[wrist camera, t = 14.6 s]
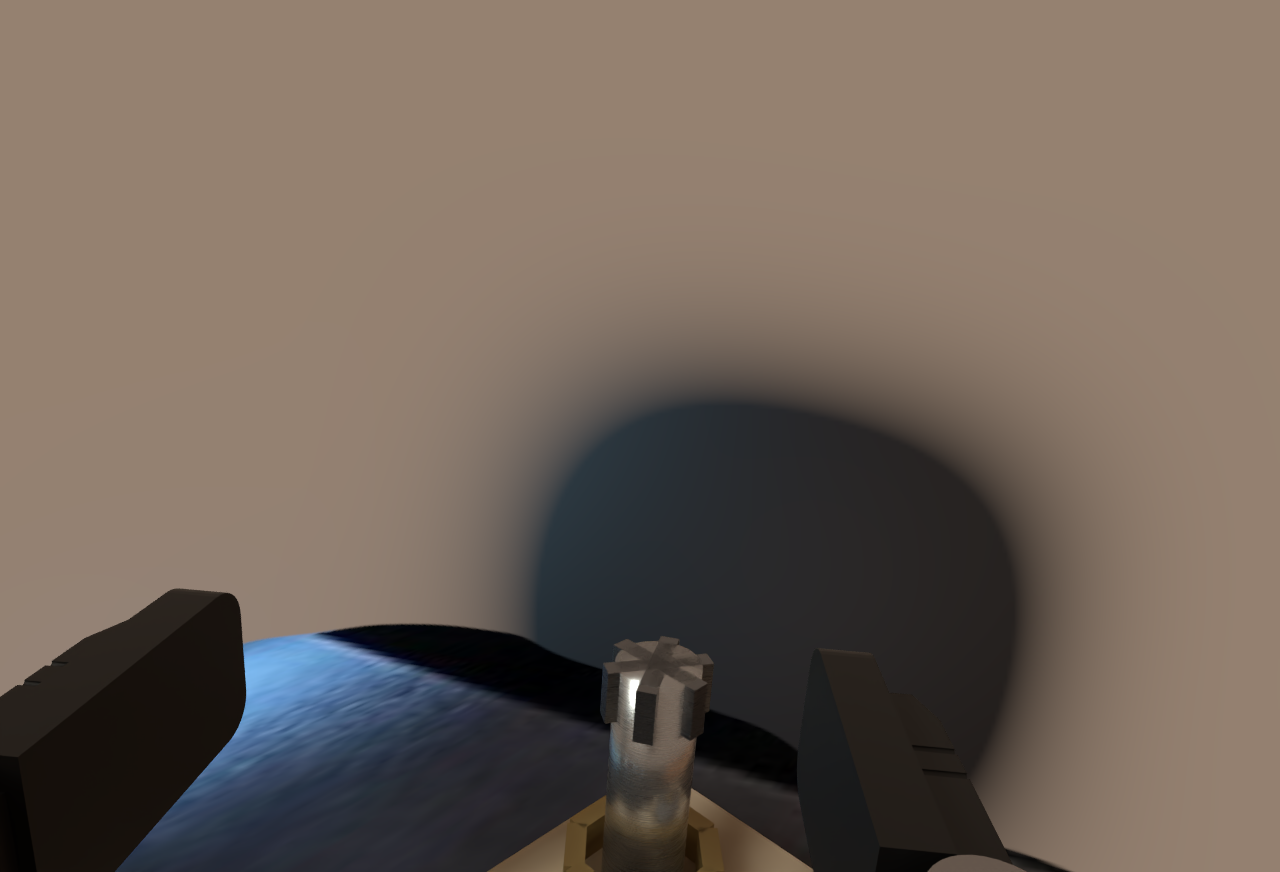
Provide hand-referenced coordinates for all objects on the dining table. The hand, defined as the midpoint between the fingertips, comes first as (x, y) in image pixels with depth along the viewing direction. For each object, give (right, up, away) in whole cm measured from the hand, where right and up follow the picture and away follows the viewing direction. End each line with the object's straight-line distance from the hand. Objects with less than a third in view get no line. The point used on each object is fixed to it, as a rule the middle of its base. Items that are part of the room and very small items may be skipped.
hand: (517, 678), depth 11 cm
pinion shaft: (+2, -19, +28) cm, 34 cm away
